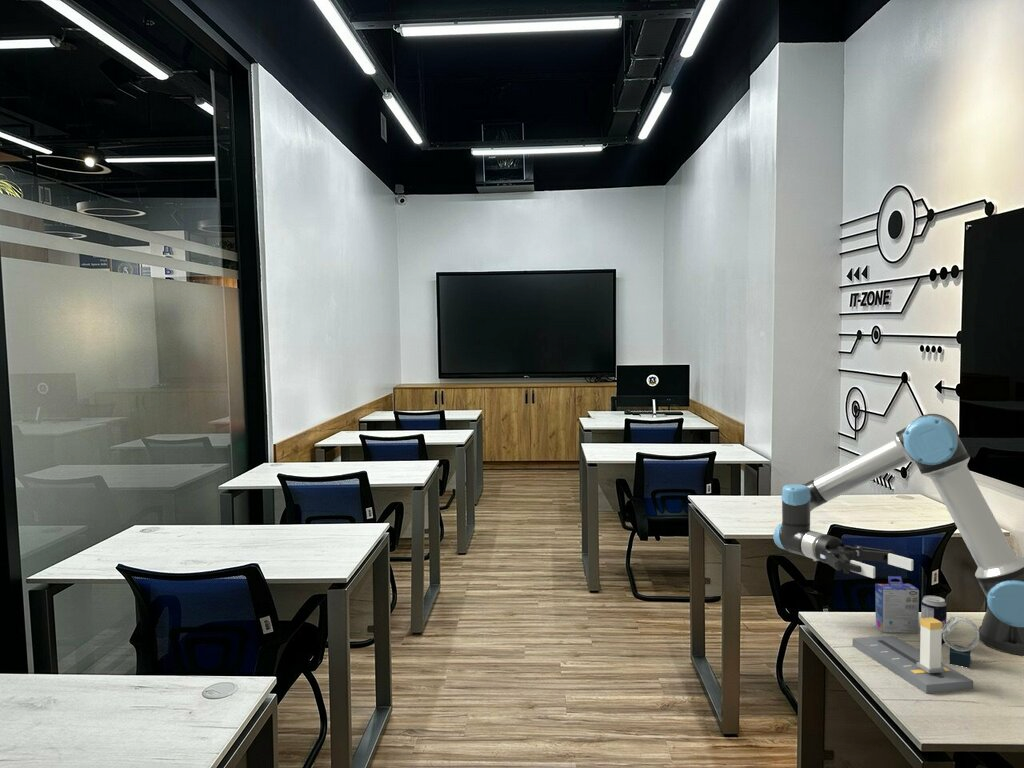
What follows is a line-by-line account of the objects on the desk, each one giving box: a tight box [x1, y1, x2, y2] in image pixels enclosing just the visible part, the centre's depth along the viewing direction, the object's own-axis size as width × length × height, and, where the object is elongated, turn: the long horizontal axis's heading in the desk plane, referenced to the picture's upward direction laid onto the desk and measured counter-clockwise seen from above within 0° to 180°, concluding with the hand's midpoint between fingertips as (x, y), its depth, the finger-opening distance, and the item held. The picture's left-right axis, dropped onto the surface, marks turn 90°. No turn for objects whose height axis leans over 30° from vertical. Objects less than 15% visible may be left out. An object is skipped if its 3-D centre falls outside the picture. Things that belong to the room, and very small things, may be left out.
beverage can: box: [920, 594, 948, 647], centre depth 182 cm, size 6×6×12 cm
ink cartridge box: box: [874, 575, 920, 634], centre depth 192 cm, size 10×6×14 cm, turn 87°
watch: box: [942, 616, 980, 669], centre depth 171 cm, size 6×8×11 cm
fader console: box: [852, 634, 975, 694], centre depth 169 cm, size 12×26×2 cm, turn 9°
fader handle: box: [916, 617, 944, 673], centre depth 162 cm, size 4×4×12 cm
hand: (893, 568), depth 170 cm, fingers open, 13 cm apart
